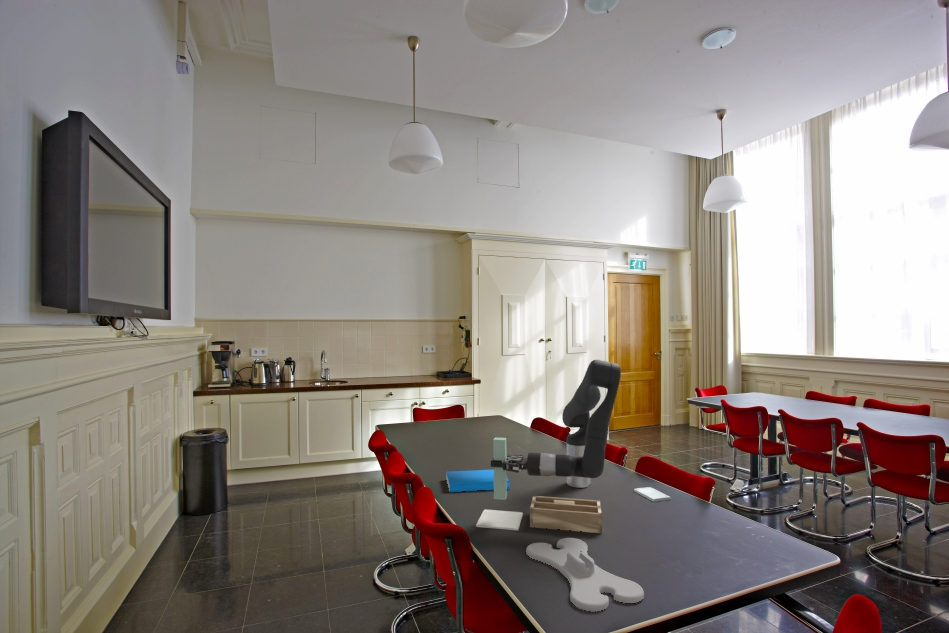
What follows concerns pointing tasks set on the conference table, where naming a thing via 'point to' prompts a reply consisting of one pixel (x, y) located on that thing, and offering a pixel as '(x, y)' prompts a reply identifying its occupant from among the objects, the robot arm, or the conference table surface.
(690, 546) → the conference table surface
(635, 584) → the holder
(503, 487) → the pale green bar
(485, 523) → the mat
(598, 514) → the box
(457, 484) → the book
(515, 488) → the conference table surface
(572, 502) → the upper offcut
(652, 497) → the hard drive
